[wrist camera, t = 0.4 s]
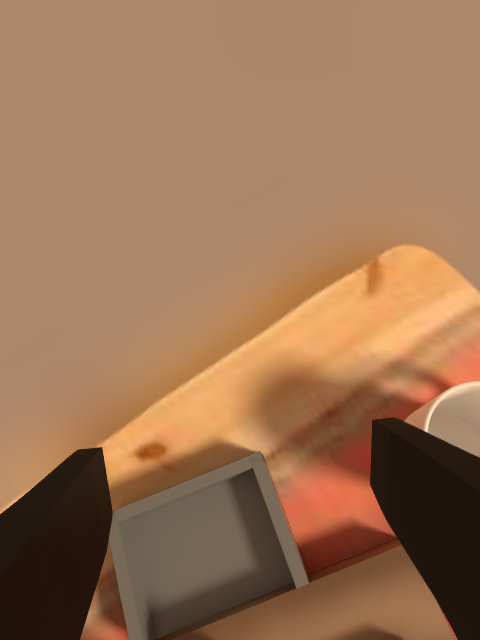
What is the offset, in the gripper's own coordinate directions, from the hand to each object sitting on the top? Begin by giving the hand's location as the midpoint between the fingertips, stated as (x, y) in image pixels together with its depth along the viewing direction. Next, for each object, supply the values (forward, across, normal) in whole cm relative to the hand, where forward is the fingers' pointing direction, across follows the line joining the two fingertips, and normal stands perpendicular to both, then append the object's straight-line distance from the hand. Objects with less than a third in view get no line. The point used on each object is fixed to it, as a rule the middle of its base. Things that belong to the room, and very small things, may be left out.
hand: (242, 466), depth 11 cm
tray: (+20, +2, +21) cm, 29 cm away
